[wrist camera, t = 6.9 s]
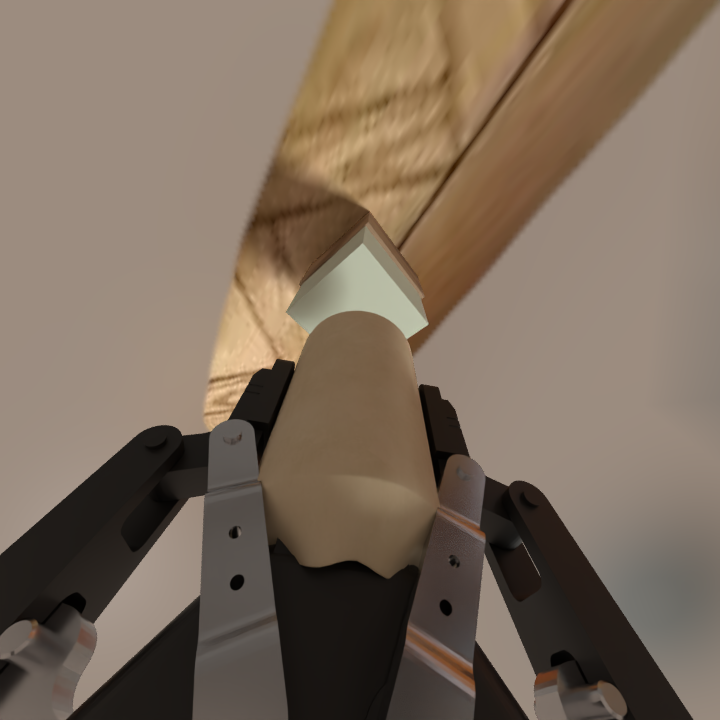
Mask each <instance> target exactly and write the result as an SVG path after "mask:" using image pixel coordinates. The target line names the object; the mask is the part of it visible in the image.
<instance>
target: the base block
mask: <svg viewBox="0 0 720 720" xmlns="http://www.w3.org/2000/svg"><path fill="white" fill-rule="evenodd" d="M365 226H366V227H367V228H368V230H369V231H370V232H371V233H372V235H373V236H374V237H375V238H376V240H377V241H378V242H379V244H380V245H381V246H382V247H383V249H384V250H385V251H386V253H387V254H388V255H389V256H390V258H391V259H392V260H393V261H394V263H395V264H396V265H397V267H398V268H399V269H400V270H401V272H402V273H403V274H404V275H405V277H406V278H407V279H408V281H409V282H410V283H411V284H412V286H413V287H414V288H415V290H416V291H417V292H418V293H419V295H420V298H421V299H422V298H424V297H425V296H424V293H423V291H422V288H421V285H420V282H419V279H418V276H417V275H416V273H415V272H414V271H413V269H412V268H411V267H410V265H409V264H408V263H407V261H406V260H405V258H404V257H403V256H402V254H401V253H400V252H399V250H398V249H397V248H396V246H395V245H394V244H393V242H392V241H391V239H390V238H389V237H388V235H387V234H386V233H385V231H384V230H383V229H382V227H381V226H380V225H379V223H378V222H377V221H376V219H375V218H374V216H373V215H372V214H371V212H370V211H369V212H368V213H367V214H366V215H365V216H364V217H363V218H362V219H361V220H360V221H359V222H357V223H356V224H355V225H354V226H353V227H352V228H351V229H350V230H349V231H348V232H347V233H345V234H344V235H343V236H342V237H341V238H340V239H339V240H338V241H337V242H336V243H335V244H333V245H332V246H331V247H330V248H329V249H328V250H327V251H326V252H325V253H324V254H323V255H321V256H320V257H319V258H318V259H317V260H316V261H315V262H314V263H313V264H312V265H311V266H310V267H309V269H308V271H307V272H306V274H305V275H304V277H303V279H302V280H301V282H300V284H299V285H300V286H301V285H302V284H303V283H304V282H305V281H306V280H307V279H308V278H309V277H311V276H312V275H313V274H314V273H315V272H316V271H317V270H318V269H319V268H320V267H321V266H322V265H324V264H325V263H326V262H327V261H328V260H329V259H330V258H331V257H332V256H333V255H334V254H336V253H337V252H338V251H339V250H340V249H341V248H342V247H343V246H344V245H345V244H346V243H347V242H349V241H350V240H351V239H352V238H353V237H354V236H355V235H356V234H357V233H358V232H359V231H360V230H362V229H363V228H364V227H365Z"/></svg>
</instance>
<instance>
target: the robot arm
mask: <svg viewBox="0 0 720 720" xmlns="http://www.w3.org/2000/svg"><path fill="white" fill-rule="evenodd" d="M294 369H295V362H293V361H287V360H281V359H277V360H276V362H275V364H274V366H273V368H272V370H270V369H264V368H262V369H261V370H259V371H258V372H257V373H255V374H254V375H253V377H252V378H251V380H250V382H249V384H248V385H247V387H246V389H245V391H244V393H243V394H242V396H241V398H240V400H239V401H238V403H237V405H236V407H235V409H234V410H233V412H232V414H231V416H230V417H229V419H228V420H227V421H224V422H222V423H220V424H219V425H217V426H216V427H215V428H214V429H213V430H212V431H211V432H208V433H203V434H194V435H184V436H182V434H181V432H180V431H179V430H178V429H177V428H175V427H173V426H167V425H161V426H155V427H151V428H149V429H146V430H144V431H143V432H141V433H139V434H138V435H137V436H136V437H134V438H133V439H132V440H131V441H130V442H129V443H128V444H127V445H125V446H124V447H123V448H122V449H121V450H120V451H119V452H117V453H116V454H115V455H114V456H113V457H112V458H110V459H109V460H108V461H107V462H106V463H105V464H104V465H102V466H101V467H100V468H99V469H98V470H97V471H96V472H94V473H93V474H92V475H91V476H90V477H89V478H88V479H86V480H85V481H84V482H83V483H82V484H81V485H80V486H78V488H76V489H75V490H74V491H73V492H72V493H71V494H69V495H68V496H67V497H66V498H65V499H64V500H62V501H61V502H60V503H59V504H58V505H57V506H56V507H54V508H53V509H52V510H51V511H50V512H49V513H48V514H46V515H45V516H44V517H43V518H42V519H41V520H40V521H39V522H37V523H36V524H35V525H34V526H33V527H32V528H31V529H29V530H28V531H27V532H26V533H25V534H24V535H23V536H21V537H20V538H19V539H18V540H17V541H16V542H14V543H13V544H12V545H11V546H10V547H9V548H8V549H6V550H5V551H4V552H3V553H2V554H1V555H0V720H529V719H528V717H527V716H526V714H525V713H524V711H523V710H522V708H521V707H520V705H519V704H518V702H517V701H516V700H515V698H514V697H513V695H512V693H511V692H510V691H509V689H508V688H507V686H506V685H505V683H504V682H503V680H502V679H501V677H500V676H499V674H498V673H497V671H496V670H495V668H494V667H493V665H492V664H491V662H490V661H489V659H488V658H487V656H486V655H485V654H484V652H483V651H482V649H481V648H480V646H479V645H478V643H477V642H476V640H475V637H476V628H477V618H478V609H479V599H480V589H481V579H482V569H483V560H484V553H485V555H486V558H487V560H488V563H489V565H490V567H491V570H492V572H493V575H494V577H495V579H496V582H497V584H498V586H499V589H500V591H501V594H502V596H503V598H504V601H505V603H506V605H507V608H508V610H509V612H510V615H511V617H512V620H513V622H514V624H515V627H516V629H517V632H518V634H519V636H520V639H521V641H522V643H523V646H524V648H525V650H526V653H527V655H528V658H529V660H530V662H531V664H532V667H533V669H534V672H535V674H536V680H535V683H534V696H535V701H534V710H535V713H536V716H537V718H538V720H693V718H692V717H691V715H690V714H689V712H688V711H687V710H686V708H685V707H684V705H683V703H682V702H681V701H680V699H679V697H678V696H677V694H676V693H675V691H674V690H673V688H672V687H671V685H670V684H669V682H668V681H667V679H666V678H665V676H664V675H663V673H662V672H661V670H660V669H659V667H658V666H657V664H656V663H655V661H654V660H653V658H652V657H651V655H650V654H649V652H648V651H647V649H646V647H645V646H644V644H643V643H642V641H641V640H640V639H639V637H638V635H637V634H636V632H635V631H634V630H633V628H632V627H631V625H630V624H629V622H628V620H627V619H626V617H625V616H624V614H623V613H622V611H621V610H620V608H619V607H618V605H617V604H616V602H615V601H614V599H613V598H612V596H611V595H610V593H609V592H608V590H607V589H606V587H605V585H604V584H603V583H602V581H601V580H600V578H599V577H598V575H597V573H596V572H595V571H594V569H593V567H592V566H591V564H590V563H589V561H588V560H587V558H586V557H585V555H584V554H583V552H582V551H581V549H580V548H579V546H578V545H577V543H576V542H575V540H574V539H573V537H572V536H571V534H570V533H569V532H568V530H567V528H566V527H565V525H564V524H563V522H562V521H561V519H560V518H559V516H558V514H557V513H556V512H555V510H554V508H553V507H552V506H551V504H550V502H549V501H548V499H547V498H546V497H545V495H544V494H543V493H542V492H541V491H540V490H539V489H537V488H536V487H535V486H533V485H532V484H530V483H527V482H524V481H514V482H513V483H511V484H510V486H506V485H504V484H502V483H500V482H497V481H495V480H493V479H491V478H489V477H487V476H485V474H484V471H483V470H482V468H481V467H480V465H479V464H478V463H477V462H476V461H474V460H473V459H471V458H470V456H469V453H468V450H467V447H466V443H465V440H464V437H463V434H462V430H461V429H460V424H459V421H458V418H457V414H456V411H455V409H454V408H453V406H452V405H451V404H450V402H449V401H448V400H443V399H442V398H441V395H440V391H439V388H438V387H435V386H429V385H423V384H421V385H420V386H419V388H418V390H419V396H420V401H421V407H422V412H423V417H424V423H425V428H426V434H427V439H428V444H429V450H430V455H431V461H432V466H433V471H434V477H435V482H436V488H437V493H438V499H439V504H440V508H439V507H438V508H437V512H436V515H435V517H434V520H433V522H432V525H431V528H430V530H429V533H428V535H427V538H426V540H425V543H424V545H423V551H422V555H421V559H420V562H419V566H418V567H417V566H415V565H409V564H408V565H407V566H406V567H405V568H404V569H401V570H400V571H398V572H397V573H395V574H394V575H393V576H392V577H391V578H389V579H386V578H384V577H382V576H381V575H379V574H377V573H376V572H374V571H373V570H371V569H370V568H369V567H367V566H365V565H364V564H362V563H360V562H358V561H343V562H339V563H336V564H332V565H329V566H325V567H321V568H311V567H306V566H302V565H300V564H299V562H298V561H297V559H296V558H295V556H294V555H292V554H291V552H290V551H289V550H288V548H287V547H286V546H285V545H284V543H283V542H282V541H281V540H280V539H279V538H278V537H277V541H276V544H273V545H268V539H267V531H266V522H265V513H264V504H263V496H262V487H261V481H258V476H259V469H258V466H259V464H260V461H261V458H262V456H263V453H264V450H265V448H266V445H267V442H268V440H269V437H270V435H271V432H272V429H273V427H274V424H275V421H276V419H277V416H278V413H279V411H280V408H281V405H282V403H283V400H284V397H285V395H286V392H287V390H288V387H289V384H290V382H291V379H292V376H293V374H294ZM203 495H205V498H204V518H203V541H202V566H201V590H200V596H198V597H197V598H196V599H195V600H194V601H193V602H192V603H191V604H190V605H189V606H188V607H186V608H185V609H184V610H183V611H182V612H181V613H180V614H179V615H178V616H177V617H176V618H175V619H174V620H173V621H171V622H170V623H169V624H168V625H167V626H166V627H165V628H164V629H163V630H162V631H161V632H160V633H159V634H157V635H156V637H154V638H153V639H152V640H151V641H150V642H149V643H148V644H147V645H146V646H144V647H143V648H142V649H141V650H140V651H139V652H138V653H137V654H136V655H135V656H134V657H133V658H131V659H130V660H129V661H128V662H127V663H126V664H125V665H124V666H123V667H122V668H121V669H120V670H119V671H118V672H116V673H115V674H114V675H113V676H112V677H111V678H110V679H109V680H108V681H107V682H106V683H105V684H103V685H102V686H101V687H100V688H99V689H98V690H97V691H96V692H95V693H94V694H93V695H92V696H91V697H89V698H88V699H87V700H86V701H85V702H84V703H83V704H82V705H81V706H80V707H79V708H78V709H77V710H76V711H74V712H73V697H74V693H75V689H76V686H77V683H78V681H79V679H80V677H81V675H82V673H83V671H84V670H85V668H86V666H87V665H88V663H89V661H90V660H91V657H92V655H93V653H94V650H95V647H96V642H97V632H96V628H95V626H94V625H93V624H94V622H95V621H96V620H97V618H98V617H99V616H100V614H101V613H102V612H103V610H104V609H105V608H106V607H107V605H108V604H109V602H110V601H111V600H112V599H113V597H114V596H115V595H116V593H117V592H118V591H119V589H120V588H121V587H122V586H123V584H124V583H125V582H126V580H127V579H128V578H129V576H130V575H131V574H132V572H133V571H134V570H135V569H136V567H137V566H138V565H139V563H140V562H141V561H142V559H143V558H144V557H145V555H146V554H147V553H148V551H149V550H150V549H151V547H152V546H153V545H154V544H155V542H156V541H157V539H158V538H159V537H160V536H161V534H162V533H163V532H164V531H165V529H166V528H167V527H168V525H169V524H170V522H171V521H172V520H173V519H174V517H175V516H176V515H177V513H178V512H179V511H180V510H181V508H182V507H183V506H184V504H185V503H186V502H187V500H188V499H189V498H191V497H196V496H203ZM522 542H523V543H524V545H525V547H526V548H527V551H528V552H529V554H530V556H531V558H532V560H533V562H534V564H535V566H536V568H537V569H538V571H539V574H540V576H539V574H538V572H537V570H536V568H535V566H534V564H533V562H532V560H531V558H530V557H529V555H528V553H527V551H526V549H525V547H524V545H523V543H522Z"/></svg>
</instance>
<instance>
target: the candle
mask: <svg viewBox="0 0 720 720" xmlns="http://www.w3.org/2000/svg"><path fill="white" fill-rule="evenodd" d="M258 469H259V476H258V481H261V487H262V496H263V504H264V513H265V522H266V531H267V539H268V545H273V544H276V541H277V537H278V538H279V539H280V540H281V541H282V542H283V543H284V545H285V546H286V547H287V548H288V550H289V551H290V552H291V554H292V555H294V556H295V558H296V559H297V561H298V562H299V564H300V565H302V566H306V567H311V568H321V567H325V566H329V565H332V564H336V563H339V562H343V561H358V562H360V563H362V564H364V565H365V566H367V567H369V568H370V569H371V570H373V571H374V572H376V573H377V574H379V575H381V576H382V577H384V578H386V579H389V578H391V577H392V576H393V575H394V574H395V573H397V572H398V571H400V570H401V569H404V568H405V567H406V566H407V565H408V564H409V565H415V566H417V567H418V566H419V562H420V559H421V555H422V551H423V545H424V543H425V540H426V538H427V535H428V533H429V530H430V528H431V525H432V522H433V520H434V517H435V515H436V512H437V508H438V507H439V508H440V504H439V499H438V493H437V488H436V482H435V477H434V471H433V466H432V461H431V455H430V450H429V444H428V439H427V434H426V428H425V423H424V417H423V412H422V407H421V401H420V396H419V390H418V385H417V380H416V374H415V369H414V363H413V358H412V354H411V349H410V346H409V343H408V342H407V340H406V338H405V336H404V334H403V333H402V332H401V330H400V329H399V328H398V327H397V326H396V325H395V324H394V323H392V322H391V321H390V320H388V319H386V318H384V317H382V316H380V315H378V314H375V313H371V312H366V311H346V312H341V313H338V314H335V315H332V316H330V317H328V318H326V319H325V320H323V321H322V322H320V323H319V324H318V325H317V326H316V327H315V328H314V330H313V331H312V332H311V333H310V335H309V337H308V338H307V340H306V343H305V345H304V347H303V350H302V352H301V355H300V358H299V360H298V363H297V366H296V368H295V371H294V374H293V376H292V379H291V382H290V384H289V387H288V390H287V392H286V395H285V397H284V400H283V403H282V405H281V408H280V411H279V413H278V416H277V419H276V421H275V424H274V427H273V429H272V432H271V435H270V437H269V440H268V442H267V445H266V448H265V450H264V453H263V456H262V458H261V461H260V464H259V466H258Z"/></svg>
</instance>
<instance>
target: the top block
mask: <svg viewBox="0 0 720 720" xmlns="http://www.w3.org/2000/svg"><path fill="white" fill-rule="evenodd" d="M346 311H366V312H371V313H375V314H378V315H380V316H382V317H384V318H386V319H388V320H390V321H391V322H392V323H394V324H395V325H396V326H397V327H398V328H399V329H400V330H401V332H402V333H403V334H404V336H405V338H406V339H407V338H409V337H410V336H412V335H413V334H415V333H416V332H418V331H419V330H421V329H422V328H424V327H425V326H427V325H428V321H427V317H426V314H425V311H424V308H423V305H422V302H421V298H420V295H419V293H418V292H417V291H416V290H415V288H414V287H413V286H412V284H411V283H410V282H409V281H408V279H407V278H406V277H405V275H404V274H403V273H402V272H401V270H400V269H399V268H398V267H397V265H396V264H395V263H394V261H393V260H392V259H391V258H390V256H389V255H388V254H387V253H386V251H385V250H384V249H383V247H382V246H381V245H380V244H379V242H378V241H377V240H376V238H375V237H374V236H373V235H372V233H371V232H370V231H369V230H368V228H367V227H366V226H365V227H364V228H363V229H362V230H360V231H359V232H358V233H357V234H356V235H355V236H354V237H353V238H352V239H351V240H350V241H349V242H347V243H346V244H345V245H344V246H343V247H342V248H341V249H340V250H339V251H338V252H337V253H336V254H334V255H333V256H332V257H331V258H330V259H329V260H328V261H327V262H326V263H325V264H324V265H322V266H321V267H320V268H319V269H318V270H317V271H316V272H315V273H314V274H313V275H312V276H311V277H309V278H308V279H307V280H306V281H305V282H304V283H303V284H302V285H301V287H300V289H299V291H298V292H297V294H296V296H295V297H294V299H293V301H292V302H291V304H290V306H289V308H288V309H287V311H286V313H287V314H288V315H290V316H291V317H292V318H293V319H294V320H295V321H296V322H297V323H298V324H299V325H300V326H301V327H302V328H304V329H305V330H306V331H307V332H308V333H309V334H310V333H311V332H312V331H313V330H314V328H315V327H316V326H317V325H318V324H319V323H320V322H322V321H323V320H325V319H326V318H328V317H330V316H332V315H335V314H338V313H341V312H346Z"/></svg>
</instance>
